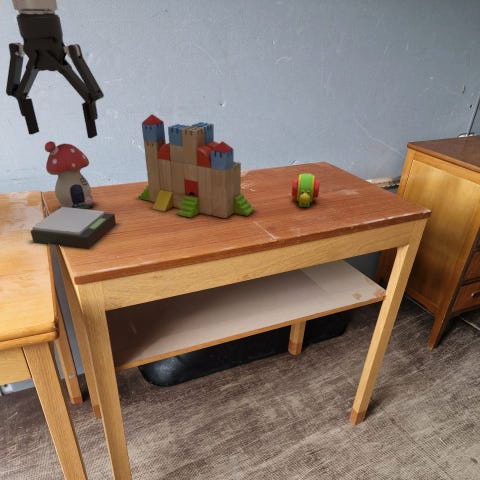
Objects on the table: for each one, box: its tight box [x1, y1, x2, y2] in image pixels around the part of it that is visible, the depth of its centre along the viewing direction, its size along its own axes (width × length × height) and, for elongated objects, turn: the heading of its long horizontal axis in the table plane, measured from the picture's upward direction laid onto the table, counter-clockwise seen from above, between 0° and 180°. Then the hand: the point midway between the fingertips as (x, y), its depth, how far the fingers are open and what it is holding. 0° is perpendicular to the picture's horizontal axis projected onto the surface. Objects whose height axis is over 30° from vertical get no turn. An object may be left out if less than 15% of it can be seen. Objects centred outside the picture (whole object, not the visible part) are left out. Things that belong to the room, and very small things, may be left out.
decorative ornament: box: [44, 140, 94, 210], centre depth 99 cm, size 9×6×15 cm
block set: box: [138, 113, 255, 219], centre depth 99 cm, size 28×14×19 cm, turn 61°
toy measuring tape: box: [291, 173, 321, 208], centre depth 109 cm, size 6×20×7 cm, turn 171°
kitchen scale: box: [30, 206, 117, 249], centre depth 90 cm, size 12×12×3 cm
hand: (63, 135), depth 94 cm, fingers open, 13 cm apart
